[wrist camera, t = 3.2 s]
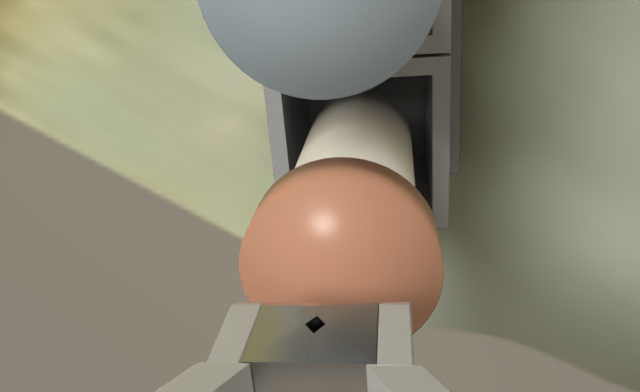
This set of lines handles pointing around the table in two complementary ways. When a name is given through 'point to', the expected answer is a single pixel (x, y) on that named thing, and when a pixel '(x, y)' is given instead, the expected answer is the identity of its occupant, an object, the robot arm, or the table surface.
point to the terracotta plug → (347, 218)
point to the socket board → (414, 101)
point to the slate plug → (319, 41)
